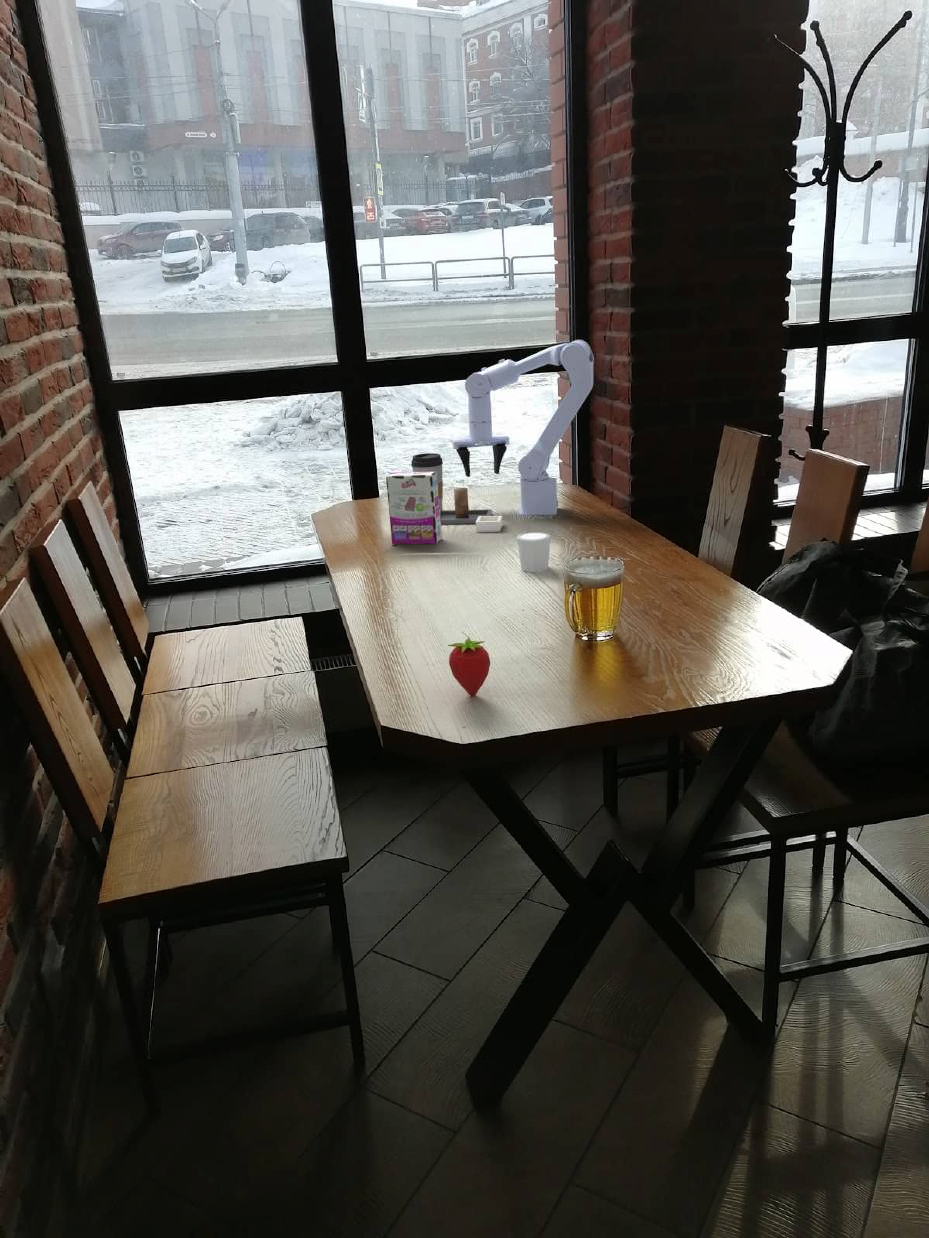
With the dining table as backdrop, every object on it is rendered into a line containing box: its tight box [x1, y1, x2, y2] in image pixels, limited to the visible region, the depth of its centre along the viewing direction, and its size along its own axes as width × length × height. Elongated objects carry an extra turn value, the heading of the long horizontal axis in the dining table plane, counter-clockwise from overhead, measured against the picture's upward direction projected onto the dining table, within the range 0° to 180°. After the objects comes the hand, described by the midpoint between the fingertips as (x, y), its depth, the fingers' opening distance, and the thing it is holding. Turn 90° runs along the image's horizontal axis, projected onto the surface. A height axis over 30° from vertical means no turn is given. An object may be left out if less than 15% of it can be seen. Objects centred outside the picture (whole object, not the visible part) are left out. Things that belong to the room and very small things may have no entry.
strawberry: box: [447, 631, 491, 697], centre depth 134 cm, size 6×8×10 cm
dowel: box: [453, 487, 470, 519], centre depth 234 cm, size 3×3×8 cm
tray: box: [440, 508, 493, 526], centre depth 235 cm, size 14×10×2 cm
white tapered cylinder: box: [516, 531, 551, 573], centre depth 192 cm, size 7×7×7 cm
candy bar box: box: [385, 471, 443, 546], centre depth 215 cm, size 11×5×16 cm, turn 76°
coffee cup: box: [410, 452, 444, 511], centre depth 244 cm, size 8×8×15 cm
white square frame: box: [475, 515, 504, 533], centre depth 224 cm, size 6×6×3 cm
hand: (482, 474), depth 240 cm, fingers open, 7 cm apart
